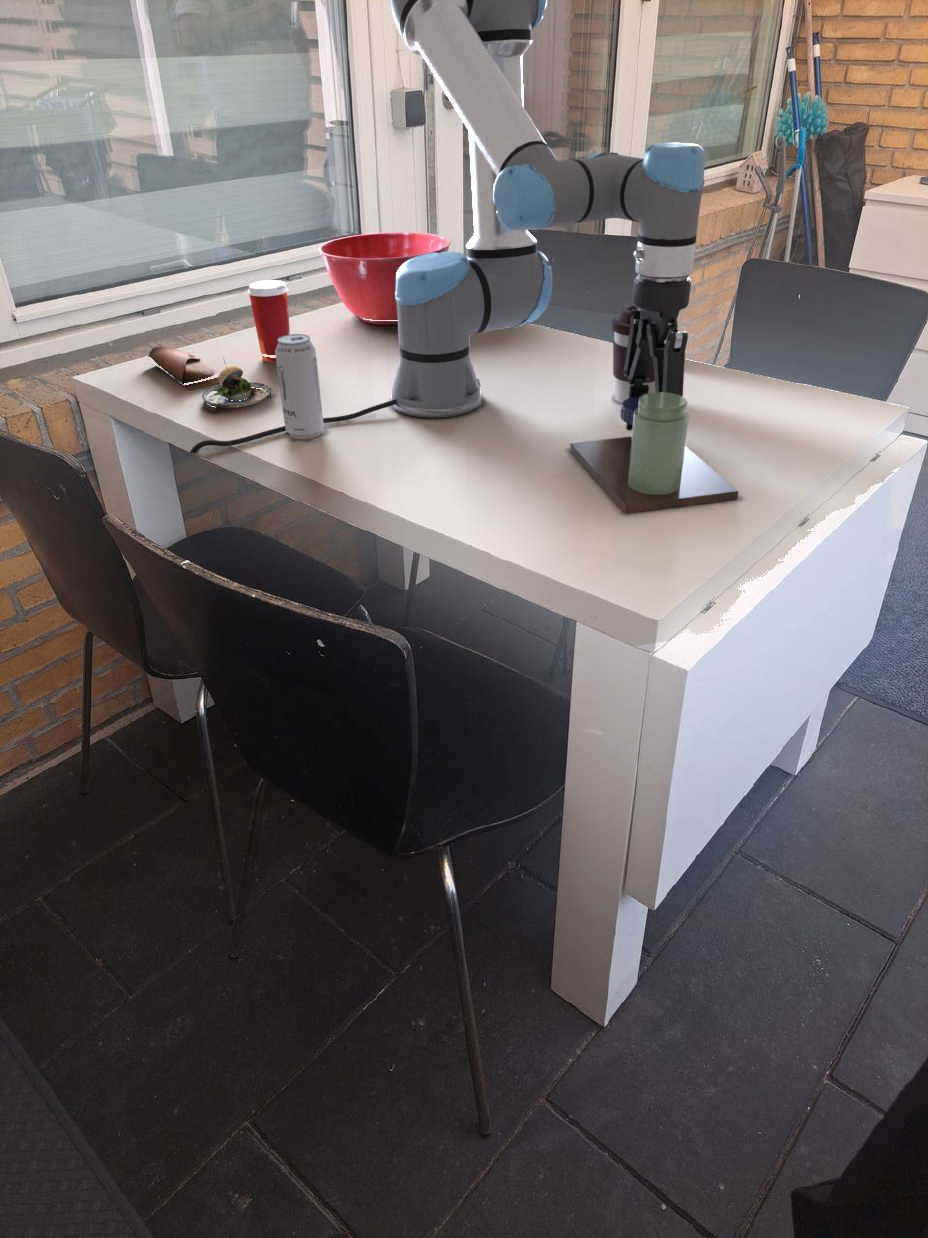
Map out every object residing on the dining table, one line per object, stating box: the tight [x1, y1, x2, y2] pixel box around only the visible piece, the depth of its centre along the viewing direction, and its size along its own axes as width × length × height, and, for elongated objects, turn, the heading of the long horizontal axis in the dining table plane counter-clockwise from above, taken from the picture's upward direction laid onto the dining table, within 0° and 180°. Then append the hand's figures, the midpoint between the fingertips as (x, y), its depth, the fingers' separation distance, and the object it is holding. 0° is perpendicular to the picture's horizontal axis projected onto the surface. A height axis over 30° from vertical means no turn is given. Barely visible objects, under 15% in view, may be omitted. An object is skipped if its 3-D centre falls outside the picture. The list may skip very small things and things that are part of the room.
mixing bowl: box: [318, 231, 452, 325], centre depth 197 cm, size 28×28×15 cm
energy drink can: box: [275, 333, 325, 441], centre depth 138 cm, size 6×6×15 cm
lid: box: [620, 396, 641, 425], centre depth 129 cm, size 8×8×2 cm
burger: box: [201, 356, 273, 413], centre depth 153 cm, size 12×12×8 cm
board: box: [569, 436, 740, 514], centre depth 127 cm, size 16×22×1 cm
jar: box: [628, 392, 690, 495], centre depth 118 cm, size 7×7×12 cm
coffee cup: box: [610, 304, 665, 404], centre depth 149 cm, size 10×10×15 cm
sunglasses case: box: [148, 346, 220, 390], centre depth 168 cm, size 18×7×7 cm
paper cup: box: [246, 279, 291, 363], centre depth 173 cm, size 8×8×14 cm
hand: (646, 438), depth 131 cm, fingers closed on lid, 8 cm apart
